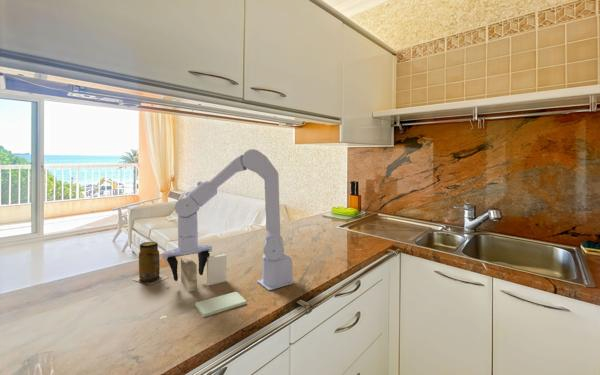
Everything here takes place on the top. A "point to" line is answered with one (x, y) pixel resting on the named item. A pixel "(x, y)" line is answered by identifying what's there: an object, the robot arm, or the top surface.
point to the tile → (216, 269)
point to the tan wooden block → (189, 273)
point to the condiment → (149, 264)
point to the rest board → (220, 303)
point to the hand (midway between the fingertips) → (188, 276)
